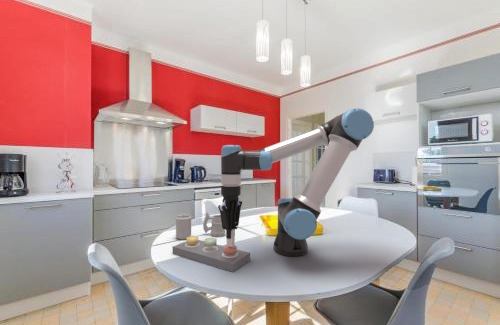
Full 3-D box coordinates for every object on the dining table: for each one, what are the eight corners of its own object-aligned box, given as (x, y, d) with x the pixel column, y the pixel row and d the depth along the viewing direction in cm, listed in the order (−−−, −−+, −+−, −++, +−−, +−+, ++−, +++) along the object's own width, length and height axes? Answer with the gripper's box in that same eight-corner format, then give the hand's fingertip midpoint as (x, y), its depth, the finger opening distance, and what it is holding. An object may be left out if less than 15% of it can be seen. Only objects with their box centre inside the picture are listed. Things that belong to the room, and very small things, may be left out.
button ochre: (200, 241, 103) (200, 237, 103) (192, 245, 99) (192, 240, 99) (192, 239, 105) (192, 235, 105) (183, 243, 101) (184, 238, 101)
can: (183, 241, 115) (183, 216, 115) (172, 238, 119) (172, 214, 119) (194, 237, 121) (194, 213, 121) (184, 234, 125) (184, 211, 125)
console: (250, 260, 94) (250, 252, 94) (232, 272, 84) (232, 263, 84) (193, 245, 110) (193, 238, 110) (172, 253, 100) (172, 246, 100)
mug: (224, 237, 122) (225, 214, 122) (201, 237, 121) (201, 213, 121) (225, 232, 129) (226, 210, 129) (204, 232, 129) (204, 210, 129)
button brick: (239, 251, 92) (239, 246, 92) (231, 255, 88) (231, 250, 88) (228, 248, 95) (228, 243, 95) (221, 252, 91) (221, 247, 91)
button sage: (219, 244, 98) (219, 239, 98) (211, 247, 93) (211, 242, 93) (209, 241, 100) (209, 237, 100) (201, 245, 96) (201, 240, 96)
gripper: (232, 183, 99) (232, 239, 99) (212, 186, 88) (212, 249, 88) (248, 184, 95) (247, 242, 95) (228, 187, 84) (228, 253, 84)
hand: (230, 246), depth 92 cm, fingers closed
